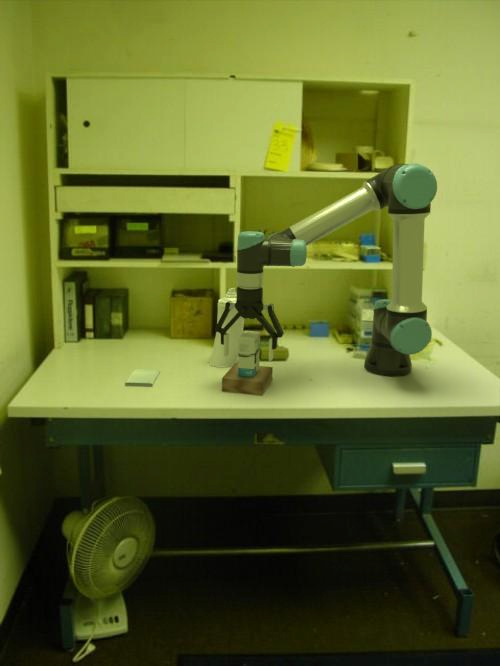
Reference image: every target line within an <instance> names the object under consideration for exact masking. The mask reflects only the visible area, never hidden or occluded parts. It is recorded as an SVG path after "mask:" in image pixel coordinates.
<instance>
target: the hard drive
mask: <svg viewBox="0 0 500 666" xmlns="http://www.w3.org/2000/svg"><path fill="white" fill-rule="evenodd" d="M160 374H161V370H159V369H143V368H142V369H141V368H140V369H139V368H138V369H137V368H136V369H135V368H134V369H133V371H132V373H131V374H130V375H129V377H128V378H127V379H126V381H125V383H124V386H125V387H147V388H148V387H149V388H153V387H154V385H155V383H156V381H157V380H158V377H159V376H160Z"/></svg>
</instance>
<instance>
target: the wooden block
mask: <svg viewBox="0 0 500 666" xmlns="http://www.w3.org/2000/svg"><path fill="white" fill-rule="evenodd" d="M273 369H274V368H273V366H265V365H264V366H263V365H259V370H258V371H257V373H256V374H255V376H254V377H243V376H238V363H237V362H236V363H235V364H234V365H233V366H230V367H229V369H228V370H227V372H226V373H225V374H224V375H223V376H222V378H221V392H227V393H228V392H229V393H236V394H245V395H253V394H254V396H263V395H264V394H265V392H266V390H267V388H268V387H269V385H270V384H271V383H272V381H273V372H274V371H273Z"/></svg>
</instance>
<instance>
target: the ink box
mask: <svg viewBox="0 0 500 666" xmlns="http://www.w3.org/2000/svg"><path fill="white" fill-rule="evenodd" d="M260 343H261V332H260V331H252V330H243V333H242V334H241V335H240V336H239V342H238V358H237V364H238V376H243V377H254V376H255V374H256V373H257V371H258V370H259V366H260V354H261V353H260V349H261V348H260V347H261V346H260V345H261V344H260Z"/></svg>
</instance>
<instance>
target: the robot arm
mask: <svg viewBox="0 0 500 666" xmlns="http://www.w3.org/2000/svg"><path fill="white" fill-rule="evenodd" d="M437 191H438V181H437V178H436V175H435V174H434V172H433V171H431V169H430V168H428V167H427V166H425V165H422V164H419V163H412V162H410V163H396V164H393V165H390V166H389V167H387V168H385V169H384V170H382V171H380V172H379V173H377V174H375V175H374V176H373V177H371V178H369V179H367V180H366V181H363V183H362V186H361V187H360V188H358V189H356V190H355V191H353V192H351V193H349V194H347V195H346V196H343V197H342V198H339V199H338V200H336V201H334V202H333V203H330V204H329V205H327V206H326V207H323V208H321V209H320V210H318V211H316V212H314V213H313V214H311V215H309V216H307V217H305V218H303V219H302V220H299V221H298V222H296V223H293V225H290V226H289V227H288V228H285V229H283V230H281V231H280V232H274V233H272V234H270V235H269V236H268V238H265V234H264V232H261V231H241V232H239V233H238V236H237V247H236V257H237V258H236V285H237V287H236V294H237V301H236V303H234V302H231V301H228V302H226V304H225V310H224V312H223V314H222V316H221V318H220V320H219V322H218V324H217V323H216V326H215V328H214V332H215V333H216V332H219V333H220V334H221V345H224V356H227V355H228V354H229V333H226V332H227V330H228V329H229V328H230V327H231V326H232V325H233V324H234V323H235V322H236V321H237V320H238V318H239V317H240V316H241V317H243V318H244V320H245V319H246V320H247V319H250V320H255V319H256V321H258V322H259V323H260V325H261V326H262V327H263V328H264V330H265V331H266V332H267V333H268V335H269V336H270V338H269V340H268V341H269V342H268V361H270V362H271V361H273V359H274V350H276V349H277V347H278V339H279V338H282V337H283V336H284V334H285V332H284V330H283V328H282V325H281V323H280V322H279V320H278V318H277V317H278V316H277V314H276V313H275V310H274V309H275V308H274V304H273V303H270V304H264V302H263V301H264V299H263V298H264V297H263V296H264V288H263V285H264V267H292V268H294V267H302V266H305V264H306V262H307V258H308V257H307V256H308V255H307V252H308V250H307V249H308V248H307V246H309V245H311V244H313V243H314V242H317V241H318V240H321V239H322V238H324V237H326V236H328V235H330V234H331V233H333V232H335V231H337V230H339V229H340V228H343V227H345V226H346V225H348V224H350V223H352V222H353V221H355V220H357V219H358V218H361V217H362V216H363V217H364V216H365V215H366V214H368V213H370V212H372V211H378V212H379V211H381V210H382V209H384V208H387V214H388V215H389V216H390V217H391V219H392V220H393V221H392V222H393V224H392V226H393V227H392V228H393V229H392V230H393V231H392V273H391V274H392V275H391V276H392V277H391V278H392V279H391V281H392V282H391V287H392V288H391V299H390V298H389V299H388V298H386V299H385V298H384V299H378V300H376V301H375V302H374V306H373V310H372V311H373V318H372V327H371V328H372V329H371V343H370V346H369V349H368V352H367V354H366V356H365V358H364V363H363V364H364V365H363V367H364V369H365V370H366V371H368V372H370V373H372V374H375V375H378V376H383V377H384V376H386V377H402V376H406V375H409V374H411V372H412V369H413V363H412V359H411V355H415V354H418V353H420V352H422V351H423V350H424V349H425V348H427V347H428V345H429V343H431V341H432V335H433V334H432V333H433V331H432V327H431V326H430V324H429V322H427V319H428V317H427V316H428V306H427V305H426V304H425V303H424V302H423V280H424V279H423V277H424V274H423V273H424V251H425V249H424V247H425V246H424V245H425V219H426V218H427V217H428V216H429V215H431V205H432V204H431V203H432V202H433V200H434V199H435V197H436V195H437ZM233 307H235V308H236V310H237V311H238V313H237V314H236V315H235V316H234V317H233V318H232V320H231V321H230V322H229V323H228V324H227V325H226V326H225V327H224V328H221V327H222V325H223V323H224V321H225V320H226V318H227V316H228V314H229V312H230V310H231V309H233ZM263 310H265V312H266V313H267V314H268V316H269V319H270V321H271V323H272V325H273V326H272V325H271V324H270V322H269V321H268V320H267V318H266V317H265V315H264V313H262V312H263Z"/></svg>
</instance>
